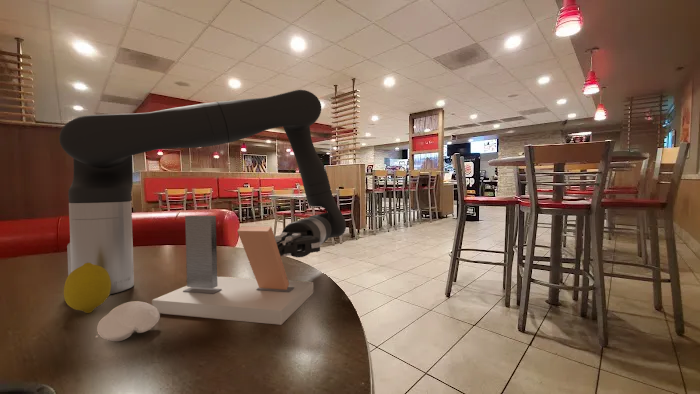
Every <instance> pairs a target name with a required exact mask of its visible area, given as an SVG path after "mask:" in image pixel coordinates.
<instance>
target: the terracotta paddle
mask: <svg viewBox="0 0 700 394" xmlns="http://www.w3.org/2000/svg"><path fill="white" fill-rule="evenodd" d="M237 233H238V237H239V239H240V242H241V244H242V248H243V250H244V252H245V256H246V257H247V260H248V262H249V264H250V265H249V266H250V267H251V270H252V272H253V275H254V279H256V281H257V283H258V286H259V288H269V289H284V290H287V288H288V286H289V282H288V281H289V279H288V276H287V273H286V270H285V265H284V263H283V260H282V257H281V256H280V253H279V250H278V247H277V244H276V240H275V234H274V231H273V228H272V226H269V225H267V226H265V225H264V226H263V225H261V226H255V225H254V226H253V225H251V226H250V225H241V226H240V227H239V228H238V229H237Z"/></svg>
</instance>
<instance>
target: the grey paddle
mask: <svg viewBox="0 0 700 394" xmlns="http://www.w3.org/2000/svg"><path fill="white" fill-rule="evenodd" d="M184 219H185V220H184V221H185V222H184V223H185V254H186V256H185V259H186V261H185V262H186V264H185V265H186V286H187V287H199V288H215V287H217V276H218V257H217V256H218V251H217V249H218V248H217V247H218V246H217V218H216V215H185V218H184Z"/></svg>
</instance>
